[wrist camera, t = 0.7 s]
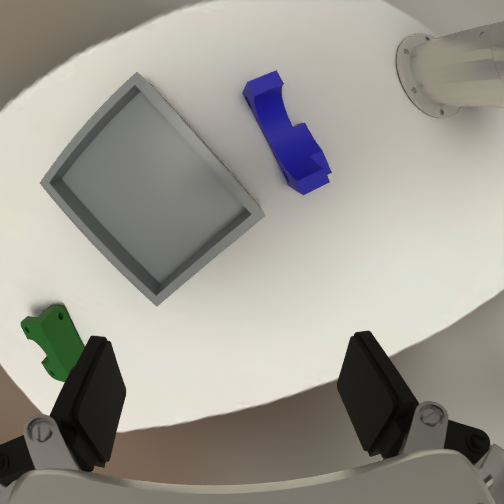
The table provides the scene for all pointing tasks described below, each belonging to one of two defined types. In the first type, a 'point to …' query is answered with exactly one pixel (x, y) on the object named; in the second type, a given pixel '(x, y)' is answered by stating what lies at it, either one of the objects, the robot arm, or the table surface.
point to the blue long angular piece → (286, 136)
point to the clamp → (55, 340)
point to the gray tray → (149, 191)
